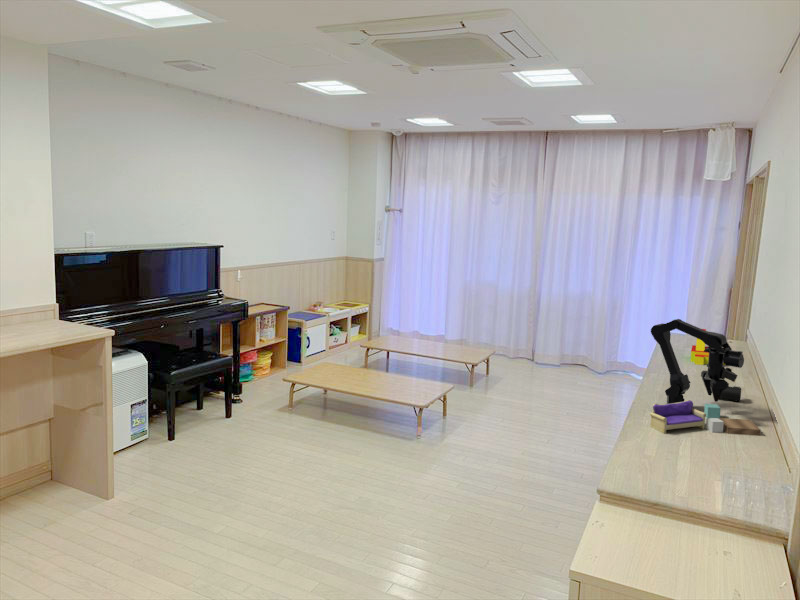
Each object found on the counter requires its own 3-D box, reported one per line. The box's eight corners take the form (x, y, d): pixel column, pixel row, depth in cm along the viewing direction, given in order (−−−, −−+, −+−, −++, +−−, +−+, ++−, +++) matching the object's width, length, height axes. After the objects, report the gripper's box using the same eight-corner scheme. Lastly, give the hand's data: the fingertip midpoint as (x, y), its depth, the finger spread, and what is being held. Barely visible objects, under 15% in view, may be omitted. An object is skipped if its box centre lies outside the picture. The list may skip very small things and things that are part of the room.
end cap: (715, 400, 290) (716, 386, 289) (717, 396, 295) (718, 383, 294) (739, 403, 284) (740, 389, 283) (741, 400, 290) (742, 386, 289)
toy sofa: (663, 434, 245) (664, 410, 243) (648, 427, 253) (650, 403, 251) (705, 429, 250) (707, 405, 249) (690, 422, 259) (692, 399, 257)
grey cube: (712, 432, 246) (712, 421, 246) (705, 428, 251) (706, 418, 250) (722, 432, 247) (723, 421, 246) (716, 428, 251) (717, 418, 251)
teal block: (707, 418, 264) (708, 407, 263) (703, 414, 268) (704, 403, 268) (719, 419, 263) (720, 408, 262) (716, 415, 267) (717, 404, 267)
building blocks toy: (690, 364, 360) (692, 333, 358) (691, 355, 382) (693, 326, 380) (726, 367, 352) (728, 336, 349) (725, 358, 374) (727, 329, 371)
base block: (727, 434, 245) (727, 427, 245) (718, 424, 257) (718, 417, 256) (759, 436, 243) (760, 429, 242) (749, 426, 254) (749, 419, 254)
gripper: (743, 369, 252) (740, 406, 254) (728, 359, 270) (726, 393, 272) (714, 368, 254) (711, 404, 256) (701, 358, 272) (699, 391, 274)
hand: (712, 398), depth 264 cm, fingers open, 9 cm apart
